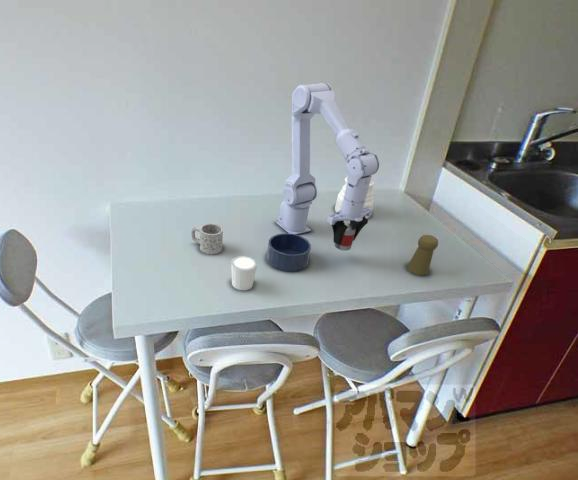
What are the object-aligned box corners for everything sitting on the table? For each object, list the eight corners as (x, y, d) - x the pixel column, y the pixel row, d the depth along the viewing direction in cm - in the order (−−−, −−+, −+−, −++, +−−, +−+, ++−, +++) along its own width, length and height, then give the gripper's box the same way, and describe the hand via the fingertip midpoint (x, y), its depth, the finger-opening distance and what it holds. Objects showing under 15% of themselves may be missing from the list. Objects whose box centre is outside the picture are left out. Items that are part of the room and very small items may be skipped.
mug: (225, 246, 129) (226, 227, 125) (215, 256, 124) (216, 237, 120) (197, 237, 132) (197, 218, 128) (186, 247, 127) (186, 228, 123)
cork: (429, 277, 122) (443, 244, 115) (408, 273, 122) (420, 241, 116) (426, 265, 126) (439, 233, 120) (405, 262, 127) (417, 230, 120)
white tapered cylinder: (228, 276, 117) (230, 255, 112) (253, 276, 117) (255, 255, 113) (230, 291, 111) (232, 270, 107) (256, 291, 112) (258, 270, 108)
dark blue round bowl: (259, 254, 127) (260, 238, 123) (292, 245, 131) (295, 230, 128) (281, 275, 118) (283, 259, 115) (316, 265, 123) (319, 249, 120)
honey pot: (328, 212, 151) (339, 163, 140) (343, 200, 160) (354, 153, 149) (362, 223, 145) (376, 173, 134) (375, 210, 154) (389, 162, 143)
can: (330, 243, 125) (335, 224, 121) (343, 240, 127) (348, 221, 123) (341, 252, 121) (346, 232, 117) (354, 248, 123) (359, 229, 119)
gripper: (343, 209, 109) (333, 253, 117) (384, 200, 115) (372, 242, 123) (326, 198, 114) (317, 241, 122) (366, 189, 120) (355, 231, 128)
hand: (343, 241), depth 123 cm, fingers closed on can, 5 cm apart
